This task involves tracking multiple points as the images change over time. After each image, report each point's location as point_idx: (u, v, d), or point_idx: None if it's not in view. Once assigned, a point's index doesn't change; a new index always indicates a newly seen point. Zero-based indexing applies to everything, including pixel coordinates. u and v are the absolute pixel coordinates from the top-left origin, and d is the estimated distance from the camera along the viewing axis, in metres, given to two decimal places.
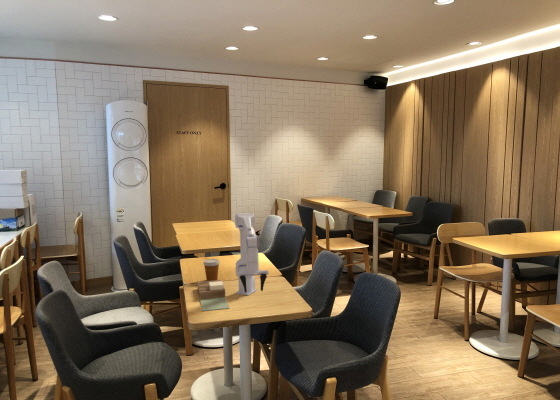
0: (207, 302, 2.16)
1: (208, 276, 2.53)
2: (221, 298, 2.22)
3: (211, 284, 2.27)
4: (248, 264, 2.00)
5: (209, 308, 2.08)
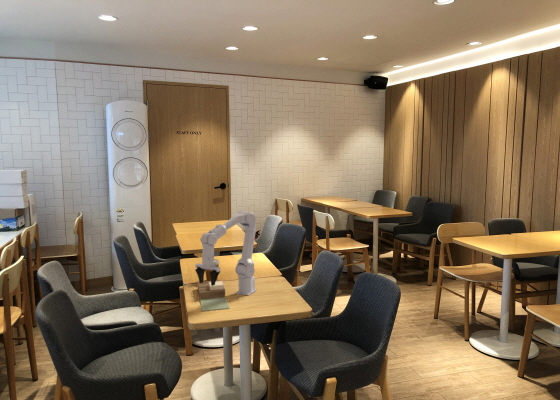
0: (207, 302, 2.16)
1: (208, 276, 2.53)
2: (221, 298, 2.22)
3: None
4: (202, 258, 2.14)
5: (209, 308, 2.08)
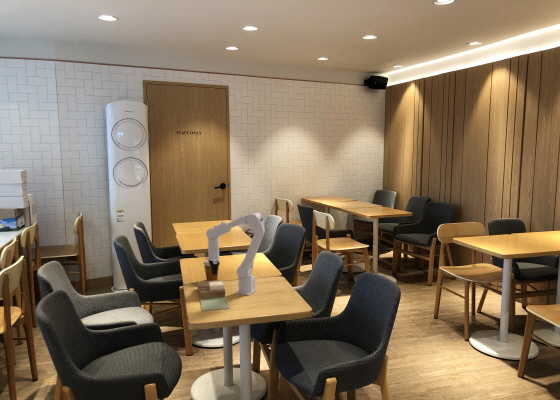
0: (207, 302, 2.16)
1: (208, 276, 2.53)
2: (221, 298, 2.22)
3: (211, 284, 2.27)
4: None
5: (209, 308, 2.08)
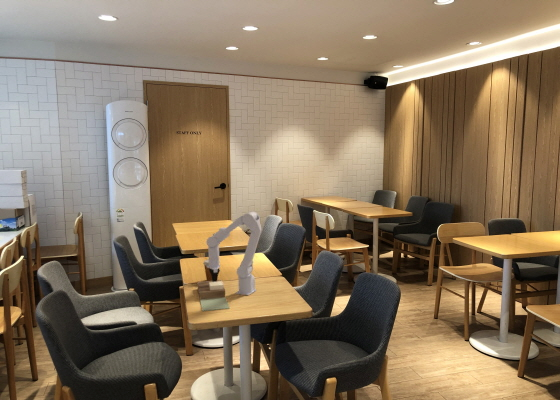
0: (207, 302, 2.16)
1: (208, 276, 2.53)
2: (221, 298, 2.22)
3: (211, 284, 2.27)
4: None
5: (209, 308, 2.08)
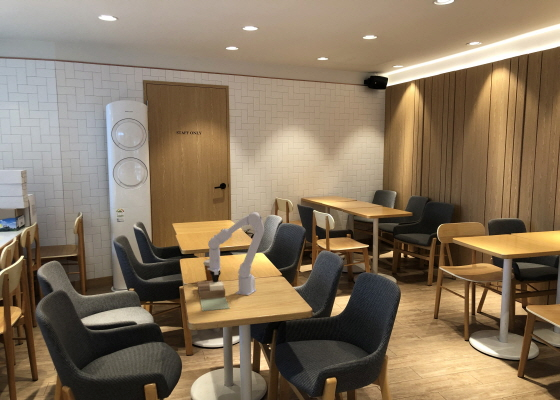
0: (207, 302, 2.16)
1: (208, 276, 2.53)
2: (221, 298, 2.22)
3: (211, 284, 2.26)
4: None
5: (209, 308, 2.08)
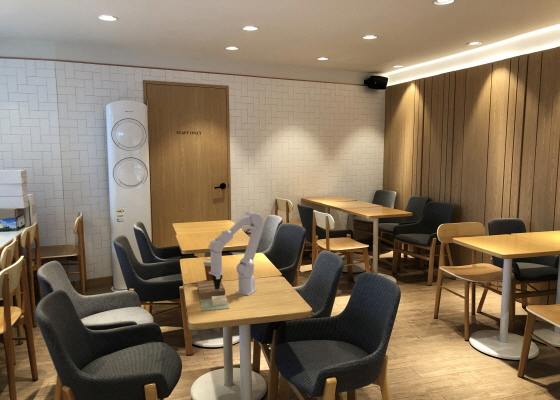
0: (207, 302, 2.16)
1: (208, 276, 2.53)
2: None
3: None
4: None
5: (209, 308, 2.08)
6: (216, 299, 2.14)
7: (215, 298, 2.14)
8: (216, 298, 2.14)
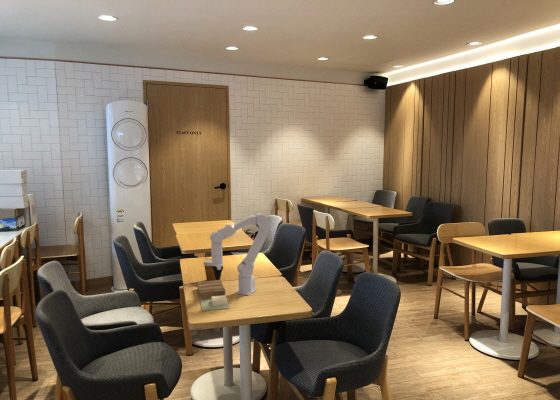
0: (207, 302, 2.16)
1: (208, 276, 2.53)
2: None
3: None
4: None
5: (209, 308, 2.08)
6: (216, 299, 2.14)
7: (215, 298, 2.14)
8: (216, 298, 2.14)
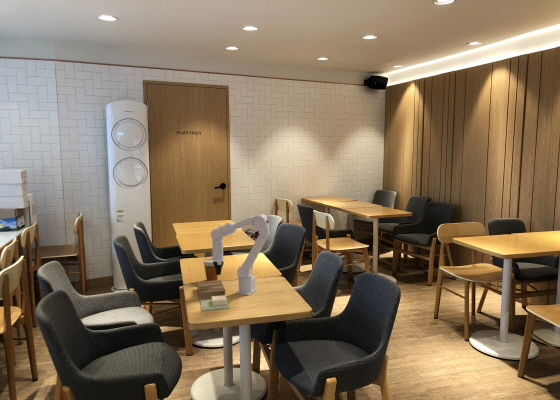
0: (207, 302, 2.16)
1: (208, 276, 2.53)
2: None
3: None
4: None
5: (209, 308, 2.08)
6: (216, 299, 2.14)
7: (215, 298, 2.14)
8: (216, 298, 2.14)
